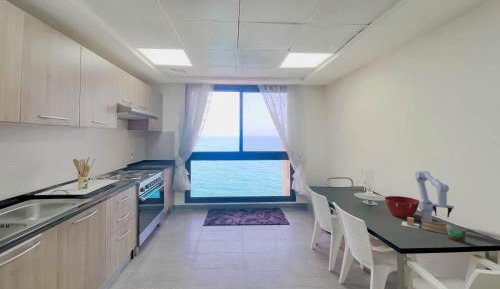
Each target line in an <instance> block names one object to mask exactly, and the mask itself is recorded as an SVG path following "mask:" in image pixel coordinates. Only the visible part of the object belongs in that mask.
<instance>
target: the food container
mask: <svg viewBox="0 0 500 289" xmlns="http://www.w3.org/2000/svg"><path fill="white" fill-rule="evenodd" d="M446 224H447V225H446V227H447V230H448V234H447V237H448V239H449V240H450V241H454V242H457V243H465V240H466V234H467V232H468V230H467V228H466V227H465V228H464V227H460V226H458V225H452V224H450V223H449V222H447V223H446ZM449 224H450V225H449Z"/></svg>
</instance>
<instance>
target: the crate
mask: <svg viewBox="0 0 500 289" xmlns="http://www.w3.org/2000/svg"><path fill="white" fill-rule="evenodd" d="M446 225H447V223H443V222H439V221H438V222H437V221H436V222H435V221H432V222H431V221H425V220H422V222H421V230H423V231H430V232H435V233H439V234H447V235H448V230H447V227H446ZM449 225H451V224H450V223H449Z"/></svg>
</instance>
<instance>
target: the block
mask: <svg viewBox="0 0 500 289" xmlns="http://www.w3.org/2000/svg"><path fill="white" fill-rule="evenodd" d="M406 222H407V225H411V226H414V223H415V218H414V217H412V216H411V217H407V218H406Z"/></svg>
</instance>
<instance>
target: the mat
mask: <svg viewBox="0 0 500 289" xmlns="http://www.w3.org/2000/svg"><path fill="white" fill-rule="evenodd" d="M400 226H402V227H409V228H413V229H420V224H419V223H415V222H414V226H411V225H407V221H402V222H401V225H400Z"/></svg>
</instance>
